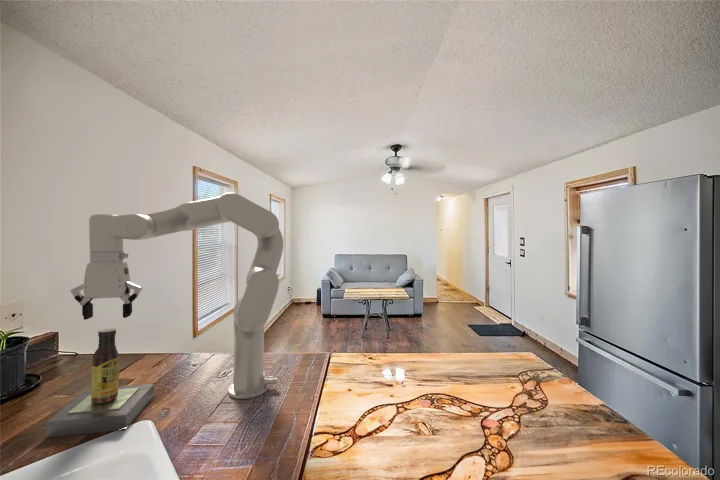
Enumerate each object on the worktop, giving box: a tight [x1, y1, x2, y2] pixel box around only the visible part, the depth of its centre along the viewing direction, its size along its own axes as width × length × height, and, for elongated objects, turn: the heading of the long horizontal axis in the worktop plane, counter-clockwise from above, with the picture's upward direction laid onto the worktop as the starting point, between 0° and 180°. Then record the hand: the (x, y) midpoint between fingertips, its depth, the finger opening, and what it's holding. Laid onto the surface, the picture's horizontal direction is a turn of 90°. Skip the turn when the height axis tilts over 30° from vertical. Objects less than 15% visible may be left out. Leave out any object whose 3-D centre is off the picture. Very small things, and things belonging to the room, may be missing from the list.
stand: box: [45, 383, 155, 438], centre depth 93 cm, size 18×18×4 cm
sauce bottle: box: [90, 328, 121, 404], centre depth 93 cm, size 7×6×20 cm
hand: (107, 317), depth 93 cm, fingers open, 9 cm apart
